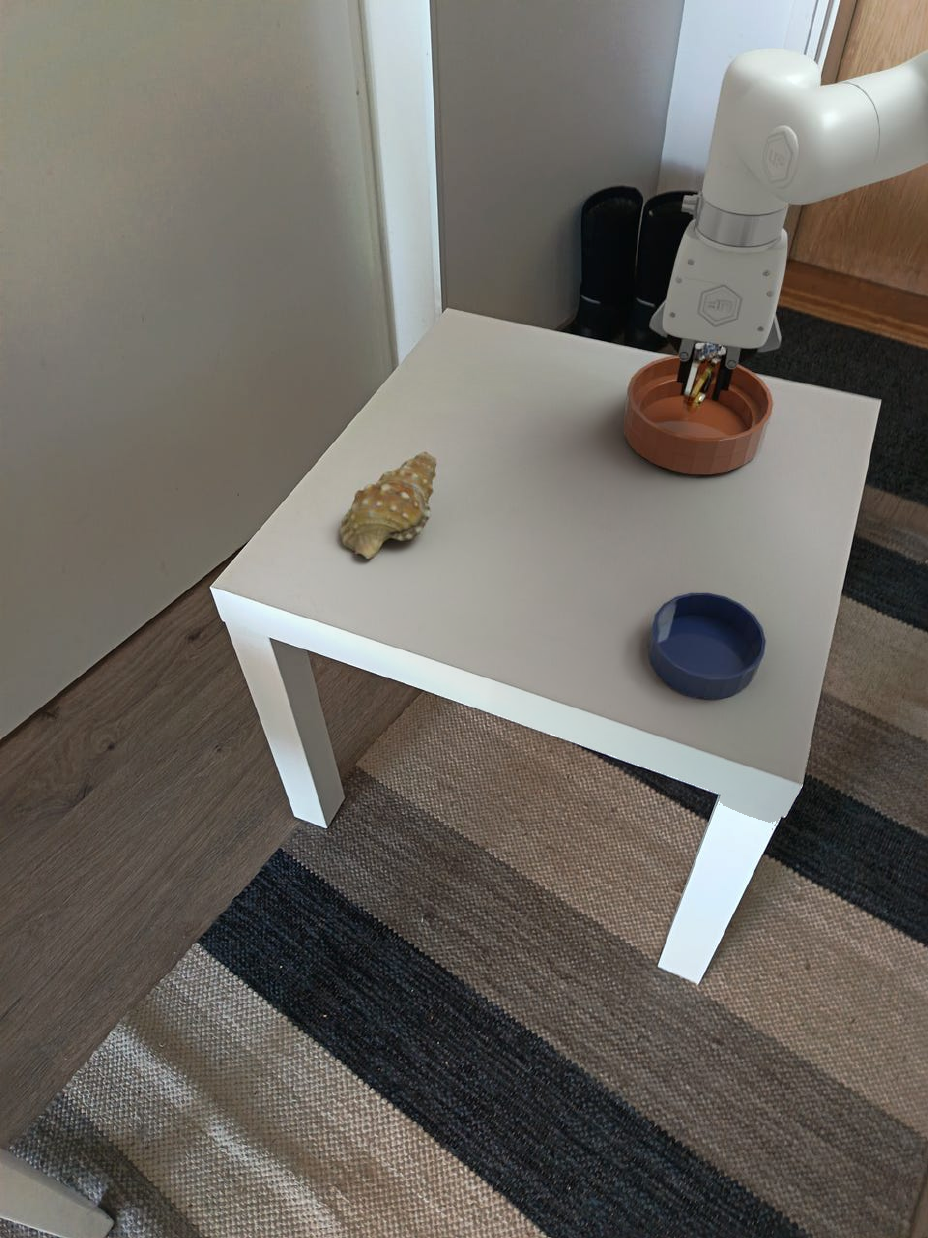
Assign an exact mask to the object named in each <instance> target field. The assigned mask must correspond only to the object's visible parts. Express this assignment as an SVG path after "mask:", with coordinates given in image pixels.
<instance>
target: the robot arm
mask: <svg viewBox="0 0 928 1238" xmlns="http://www.w3.org/2000/svg"><path fill="white" fill-rule="evenodd" d="M821 83H822V74H821V70H820V67H819V65H818V64H817V63H816V61H815V60H814V59H813V58H812V57H810V56H809V55H806V54H804V53H801V52H799V51H796V50H791V49H787V48H775V47H774V48H773V47H771V48H770V47H768V48H757V49H753V50H748V51H745V52H743V53H741V54H739V55H738V56H736V57H735V58H734V59H732V61H731V62H730V63H729V64H728V66H727V67H726V70H725V72H724V74H723V77H722V81H721V86H720V90H719V91H720V92H719V97H718V103H717V108H716V113H715V119H714V122H713V123H714V124H713V130H712V135H711V139H710V145H709V150H708V154H707V162H706V167H705V171H704V177H703V183H702V189H701V191H698V193H697V194H693V195H687V194H685V195H684V197H683V201H682V205H681V212H683V213H689V215H692V220H691V221H690V222H689V223H688V225H687V227H686V229H685V231H684V233H683V236H682V238H681V241H680V244H679V247H678V250H677V252H676V255H675V260H674V263H673V268H672V271H671V276H670V280H669V285H668V289H667V294H666V298H665V299H664V301H663V302H662V303H661V304H660V306H659V307H658V308H657V309H656V311H655V312H654V314H653V315H652V316H651V318H650V321H649V325H648V327H649V328H650V329H651V330H652V331H654V332H655V333H657V334H659V335H660V336H661V337H664V338H666V340H667V342H668V343H669V344H670V346H671V347H672V348H673V349H674V351H675V352H676V353H677V355H678V358H679V359H680V360H681V361H680V366H679V371H678V376H677V381H676V382H678V383H682V388H681V393H680V395H683V396H684V394H685V390H686V387H687V383H688V380H689V376H690V372H691V368H692V364H693V358H694V350H695V345H696V344H695V343H696V341H697V342H700V343H705V342H707V343H709V344H716V345H718V346H719V345H722V346H726V347H727V350H726V353H725V355H724V357H723V358H722V359H721V363H720V366H719V370H718V374H717V378H716V383H715V387H714V391H713V395H712V399H713V401H717V402H718V400H719V396H720V392H721V390H724V391H728V389H729V385H730V381H731V377H732V373H733V369H735V368H736V367H737V366H738V364H739V365H740V364H741V363H743V362H745V361H747V360H749V359H750V358H752V357H754V356H755V355H757V354H758V353H760V354H761V353H766V352H770V351H775V350H778V349H779V348H780V347H781V344H782V339H783V337H782V333H781V329H780V325H779V321H778V317H777V314H776V312H777V309H778V304H779V301H780V294H781V291H782V286H783V283H784V276H785V271H786V266H787V256H788V233H787V231H786V230H785V228H784V224H785V222H786V221H785V220H786V217H787V214H788V210H789V206H790V205H794V206H806V205H810V204H814V203H818V202H821V201H824V200H827V199H830V198H833V197H837V196H839V195H842V194H846V193H848V192H850V191H853V190H856V189H859V188H862V187H866V186H868V185H871V184H875V183H878V182H881V181H885V180H888V179H892V178H895V177H898V176H900V175H903V174H906V173H908V172H910V171H911V172H912V171H913V170H916V169H917V168H920V167H922V166H924V165H927V164H928V48H927V49H926V50H924V51H922V52H920V53H918V54H917V55H915V56H914V57H911V58H910V59H909V60H906V61H904V62H901V63H900V64H898V65H895V66H894V67H891V68H888V69H884V70H881V71H877V72H872V73H867V74H865V75H860V76H857V77H852V78H850V79H846V80H842V81H838V82H836V83H832V84H826V85H821Z"/></svg>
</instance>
